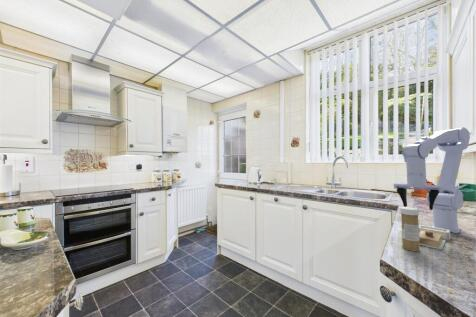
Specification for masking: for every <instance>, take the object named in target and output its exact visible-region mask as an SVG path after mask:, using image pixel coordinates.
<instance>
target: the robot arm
mask: <svg viewBox="0 0 476 317" xmlns="http://www.w3.org/2000/svg"><path fill="white" fill-rule="evenodd" d="M470 138H471V135H470V131H469V130H468V129H467V128H466V127H457V128H452V129H444V130H436V131H434V132H433V134H432V135H431V136H430V137H429V136H422V137H421V138H420V139H419V140H416V141H415V142H414V143H412V144H408V145H407V144H406V145H405V146H404V147H403V148H402V152H401V154H402V156H403V158H404V160H403V161H404V163H405V164H406V180H407V182H406V183H393V189H396V193H397V194H398V195H399V197H400V199H401V202H402V204H403V207H408V201H407V195H408V194H407V192H408V190H414V191H415V190H417V191H428V192H427V194H426V198H425V200H426V202H427V204H428V206H429V210H430V211H432V222H433V223H432V225H431V227H436V228H442V229H448V230H450V233H454V234H455V233H456V234H459V233H460V231H461V227H459V222H458V210H460V209H461V208H462V207H463V205H464V193H463V192H462V191H461V190H460V189H459V188H457V187H456V184H457V179H458V175H459V170H460V165H461V160H462V157H463V151H465V150H467V149H468V148H469V143H470ZM437 147H438V149H439V150H440V151H443V152H445V154H444V158H443V161H442V162H443V163H442V166H441V169H440V170H441V171H440V174H439V180H438V184H435V185H433V184H431V185H430V184H427V170H426V169H427V166H426V158H428V157H429V154H430V152H431V151H433V150H435V149H436V148H437Z"/></svg>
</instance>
